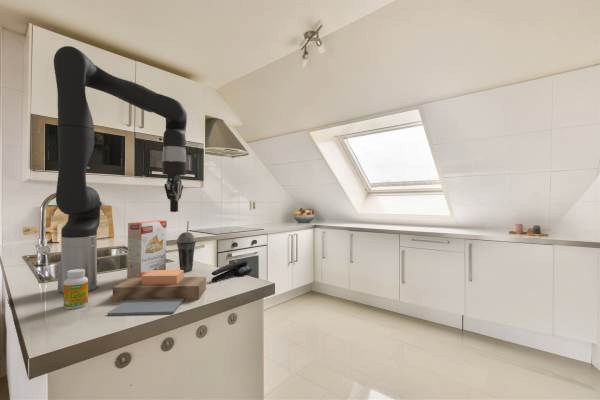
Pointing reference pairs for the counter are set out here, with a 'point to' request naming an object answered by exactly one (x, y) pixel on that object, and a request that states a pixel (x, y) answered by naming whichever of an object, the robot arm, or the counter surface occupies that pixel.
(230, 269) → the can opener
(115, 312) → the slate mat
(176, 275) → the terracotta tile
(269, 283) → the counter surface
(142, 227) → the cracker box
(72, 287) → the supplement bottle
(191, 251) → the beverage cup
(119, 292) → the panel
